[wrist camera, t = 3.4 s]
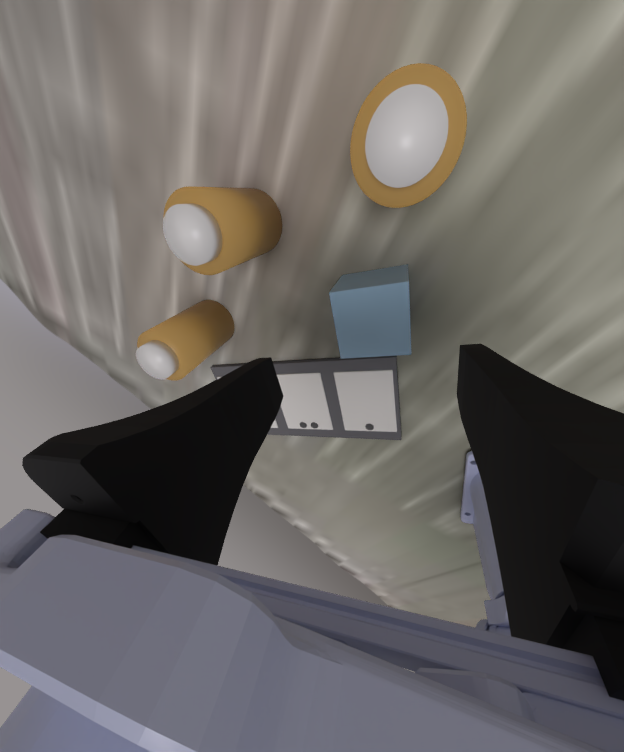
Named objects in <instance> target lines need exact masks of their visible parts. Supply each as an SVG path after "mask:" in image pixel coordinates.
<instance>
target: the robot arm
mask: <svg viewBox="0 0 624 752" xmlns="http://www.w3.org/2000/svg"><path fill="white" fill-rule="evenodd" d="M457 398H458V404H459V410H460V415H461V420H462V423H463V426H464V429H465V432H466V435H467V438H468V441H469V444H470V447H471V450H472V451H470V452H468V453H467V455H466V465H465V475H464V485H463V495H462V505H461V515H460V517H461V521H462V522H464V523H470V524H473V525H474V530H475V535H476V539H477V544H478V549H479V554H480V558H481V563H482V568H483V573H484V577H485V582H486V587H487V590H488V593H489V596H490V598H491V600H485V601H484V604H485V609H486V614H487V619H488V620H487V619H483V620H480V621H479V622H478V623H477V625H476V628H474V627H470V626H466V625H462V624H457V623H453V622H449V621H445V620H441V619H437V618H433V617H428V616H424V615H420V614H416V613H412V612H408V611H404V610H399V609H395V608H391V607H387V606H383V605H379V604H375V603H370V602H366V601H362V600H358V599H354V598H350V597H345V596H341V595H337V594H333V593H329V592H325V591H320V590H316V589H312V588H308V587H304V586H299V585H296V584H292V583H287V582H283V581H279V580H275V579H271V578H267V577H262V576H258V575H254V574H250V573H245V572H241V571H237V570H233V569H229V568H225V567H221V566H217V565H218V561H219V558H220V554H221V550H222V547H223V543H224V539H225V536H226V533H227V530H228V527H229V524H230V520H231V517H232V514H233V511H234V508H235V505H236V503H237V500H238V497H239V494H240V492H241V488H242V486H243V484H244V481H245V479H246V476H247V474H248V471H249V469H250V466H251V464H252V462H253V460H254V458H255V456H256V454H257V452H258V450H259V449H260V447H261V445H262V443H263V441H264V439H265V437H266V436H267V434H268V432H269V430H270V428H271V426H272V424H273V422H274V420H275V418H276V416H277V414H278V411H279V409H280V406H281V403H282V400H283V393H282V390H281V387H280V384H279V381H278V377H277V374H276V371H275V368H274V365H273V362H272V359H271V358H258V359H255V360H253V361H251V362H248V363H246V364H244V365H243V366H241V367H239V368H237V369H235V370H233V371H232V372H230V373H228V374H226V375H224V376H223V377H221V378H219V379H217V380H215V381H213V382H211V383H210V384H208V385H206V386H204V387H202V388H200V389H198V390H196V391H194V392H192V393H190V394H188V395H186V396H183V397H181V398H179V399H177V400H174V401H172V402H169V403H167V404H164V405H162V406H159V407H156V408H153V409H151V410H148V411H145V412H142V413H140V414H137V415H133V416H131V417H127V418H124V419H121V420H117V421H113V422H110V423H106V424H102V425H98V426H94V427H89V428H85V429H81V430H76V431H72V432H68V433H62V434H60V435H57V436H54V437H52V438H50V439H48V440H47V441H46V442H44V443H43V444H42V445H40V446H39V447H37V448H36V449H35V450H33V451H32V452H30V453H29V454H27V455H26V456H25V457H24V458H23V465H22V466H23V468H24V470H25V472H26V473H27V474H28V476H29V477H30V478H31V479H32V480H33V481H34V482H35V483H36V484H37V485H38V486H39V487H40V488H41V489H42V490H43V491H45V492H46V493H47V494H48V495H49V496H50V497H51V498H52V499H53V500H54V501H55V502H57V503H58V504H59V505H60V506H61V507H62V508H64V510H63V511H62V512H61V513H60V514H58V515H57V516H56V517H54V516H52V515H50V514H48V513H45V512H40V511H36V510H31V509H25V510H23V511H21V512H20V513H19V514H18V515H17V516H16V517H14V518H13V519H12V520H11V521H10V522H8V523H7V524H6V525H5V526H4V527H2V528H1V529H0V667H1V668H3V669H5V670H6V671H8V672H10V673H11V674H13V675H15V676H17V677H18V678H20V679H22V680H24V681H25V682H27V683H29V684H30V685H32V686H31V688H30V689H29V691H28V692H27V693H26V695H25V696H24V697H23V698H22V700H21V701H20V703H19V704H18V705H17V706H16V708H15V709H14V711H13V712H12V713H11V714H10V716H9V717H8V718H7V720H6V721H5V722H4V724H3V725H2V726H1V728H0V752H624V413H621V412H618V411H615V410H612V409H609V408H607V407H604V406H601V405H599V404H596V403H594V402H591V401H589V400H586V399H584V398H582V397H579V396H577V395H575V394H572V393H570V392H567V391H565V390H563V389H561V388H559V387H557V386H554V385H552V384H550V383H549V382H547V381H545V380H543V379H541V378H539V377H537V376H535V375H533V374H531V373H529V372H528V371H526V370H524V369H522V368H520V367H519V366H517V365H515V364H514V363H512V362H510V361H509V360H507V359H505V358H504V357H502V356H501V355H499V354H497V353H496V352H494V351H493V350H491V349H489V348H488V347H486V346H484V345H482V344H470V345H460V354H459V369H458V384H457ZM404 668H405V669H404ZM406 669H409V670H412V671H415V673H414V672H411V671H409V670H406Z"/></svg>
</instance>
